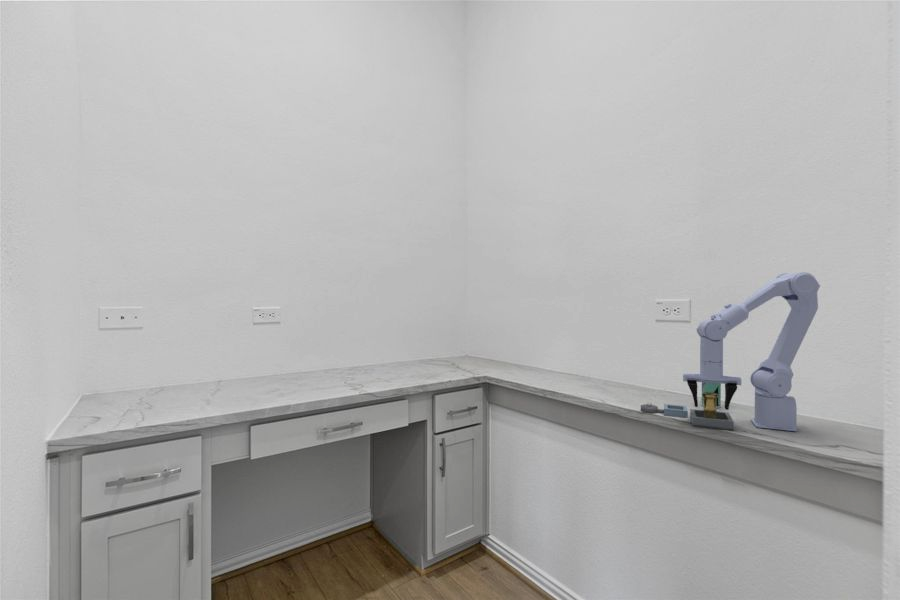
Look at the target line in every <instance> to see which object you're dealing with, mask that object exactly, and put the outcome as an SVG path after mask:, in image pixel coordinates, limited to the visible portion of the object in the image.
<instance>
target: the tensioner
mask: <svg viewBox="0 0 900 600" xmlns="http://www.w3.org/2000/svg"><path fill="white" fill-rule="evenodd" d="M640 411H641V412H642V413H647V414H658V413H659V414H663V415H664V416H667V415H670V416H669V417H676V416H678V418H686V417H687V418H688V417H689V416H688V413H689V412H688V411H689V410H688V407H687V405H678V404H669V403H663V409H662V408H659V407H658V406H657V405H655V404H653V403H652V402H646V404H645V403H644V404H641V405H640Z"/></svg>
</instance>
